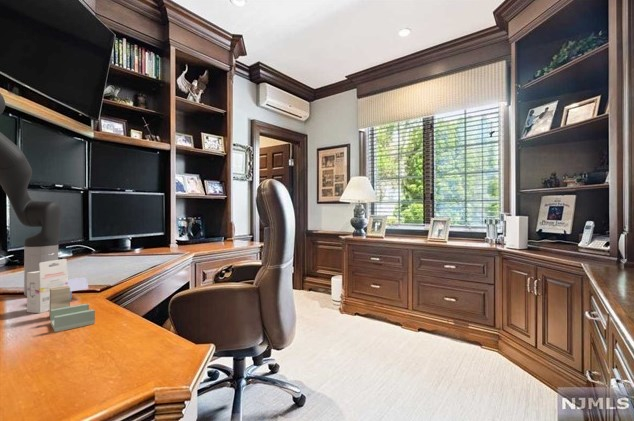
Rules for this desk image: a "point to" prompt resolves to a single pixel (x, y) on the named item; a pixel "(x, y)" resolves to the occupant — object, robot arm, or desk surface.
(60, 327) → the sage green grooved bar
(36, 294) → the ink cartridge box
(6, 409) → the desk surface
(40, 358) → the desk surface
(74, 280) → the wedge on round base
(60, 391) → the desk surface
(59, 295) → the birch block
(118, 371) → the desk surface
